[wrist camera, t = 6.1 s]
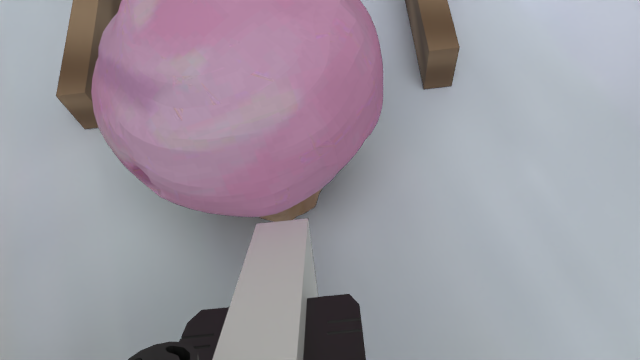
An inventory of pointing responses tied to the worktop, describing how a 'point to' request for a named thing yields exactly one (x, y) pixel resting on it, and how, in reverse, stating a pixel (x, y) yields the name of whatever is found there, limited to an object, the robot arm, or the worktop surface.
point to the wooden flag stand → (103, 4)
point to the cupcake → (238, 99)
